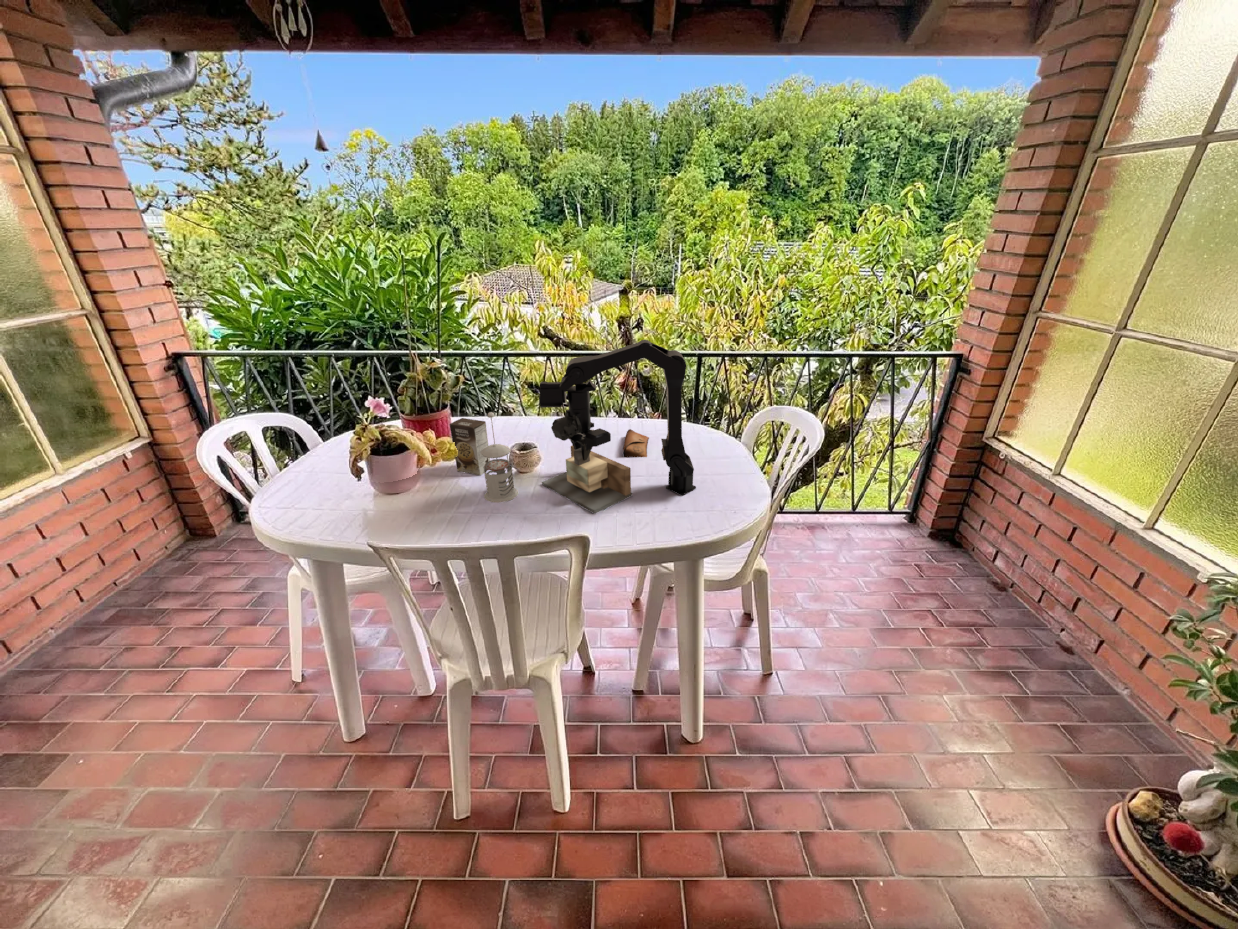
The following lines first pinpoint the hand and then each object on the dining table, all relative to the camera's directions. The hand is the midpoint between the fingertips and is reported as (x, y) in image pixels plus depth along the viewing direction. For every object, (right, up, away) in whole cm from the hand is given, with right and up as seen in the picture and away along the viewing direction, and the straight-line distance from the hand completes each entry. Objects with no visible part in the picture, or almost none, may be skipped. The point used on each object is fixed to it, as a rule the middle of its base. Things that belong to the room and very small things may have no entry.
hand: (582, 458), depth 146 cm
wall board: (+1, -9, +5) cm, 10 cm away
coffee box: (-36, -3, +19) cm, 41 cm away
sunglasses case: (+16, +4, +33) cm, 37 cm away
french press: (-23, -10, +5) cm, 26 cm away
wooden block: (+1, -7, +4) cm, 8 cm away
